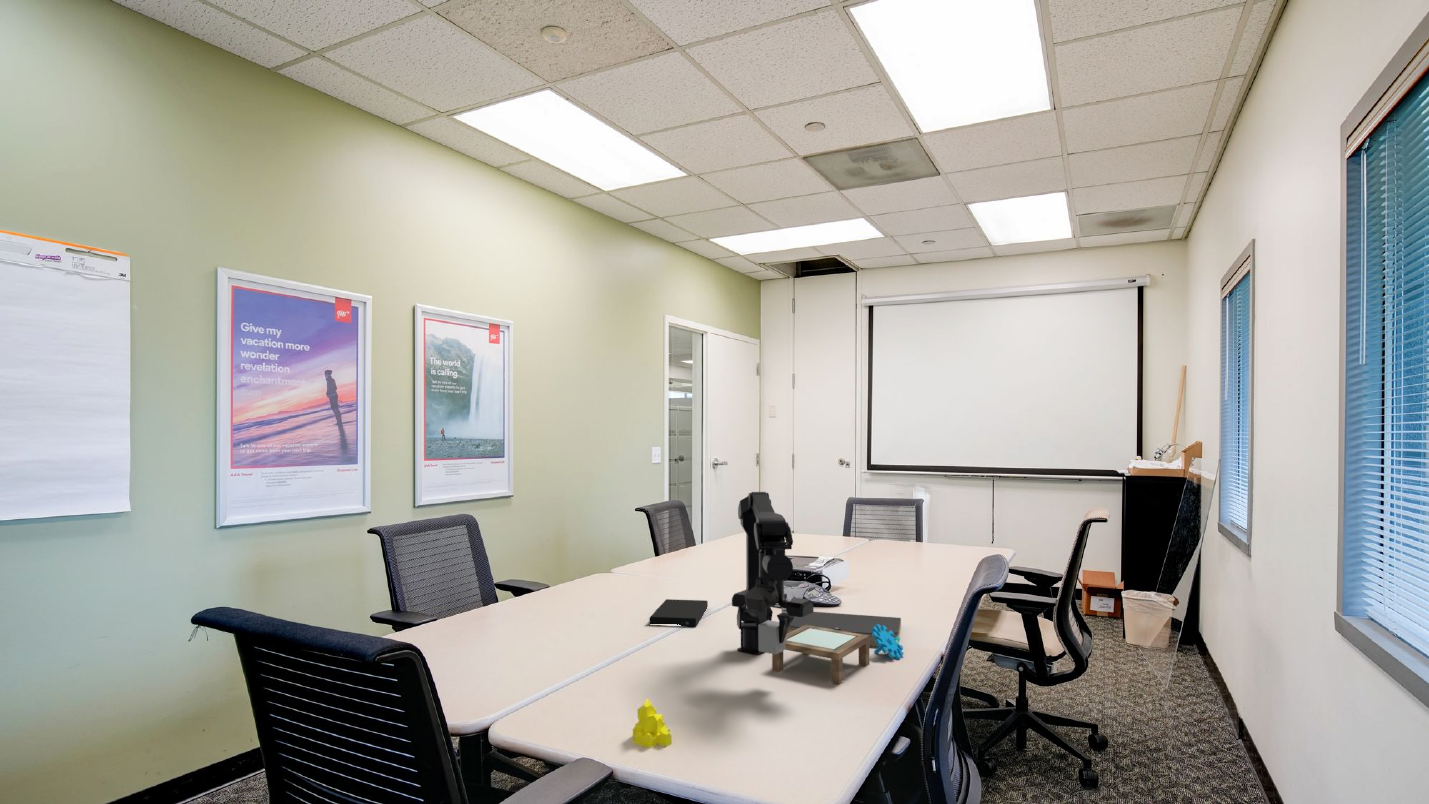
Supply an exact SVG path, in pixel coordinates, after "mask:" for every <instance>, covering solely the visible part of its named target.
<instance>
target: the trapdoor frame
mask: <svg viewBox="0 0 1429 804" xmlns="http://www.w3.org/2000/svg"><path fill="white" fill-rule="evenodd" d="M809 628H811V629H817V630H823V631H829V632H834V633H840V634H846V635H852V636H856V638H854V639H853V640H851V641H849V642H847V643H846V644H844V645H842V646H841V647H839V648H837V649H836V650H832V649H827V648H822V647H816V646H811V645H805V644H800V643H795V642H789V641H785V643H786V650H785V651H790V652H796V653H799V654H800V653H801V654H803V655H808V656H809V655H810V656H817V657H820V658H824V659H825V658H827V659H830V674H831V675H830V676H831V677H830V678H831V681H830V683H831V682H833V683H832V684H835V683H836V684H835V685H841V684H842V683H843V682H844V677H843V676H844V667H843V666H844V664H843V662H844V660H843V658H845V657H847V656H848V655H850V654H851V653H853V652H855V651H857V650H858V665H859V664H861V665H860V666H864V667H865V666H866V667H867V666H869V665H870V646H869V635H863V634H857V633H851V632H845V631H839V630H833V629H827V628H822V627H816V626H810V625H804V626H802V627H800V628H798V629H796V630H794V631H792V632H790V633H788V634H786V637H785V640H787V639H789V638H791V637H793V636H795V635H797V634H799V633H801V632H803V631H805V630H807V629H809ZM771 661H772V662H771V670H772V671H776V672H782V671H783V670H784V651H782V652H780V653H778V654H776V655H775V654H771ZM842 681H843V682H842ZM841 682H842V683H841ZM840 683H841V684H840Z"/></svg>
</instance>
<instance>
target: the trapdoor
mask: <svg viewBox="0 0 1429 804" xmlns="http://www.w3.org/2000/svg"><path fill="white" fill-rule="evenodd" d="M854 638H856V636H852V635H846V634H840V633H834V632H829V631H823V630H817V629H811V628H809V629H807V630H805V631H803V632H801V633H799V634H797V635H795V636H793V637H791V638H789V639H787V640H785V641H789V642H795V643H800V644H805V645H811V646H816V647H822V648H827V649H832V650H836V649H837V648H839V647H841V646H842V645H844V644H846V643H847V642H849V641H851V640H853V639H854Z"/></svg>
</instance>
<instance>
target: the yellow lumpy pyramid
mask: <svg viewBox="0 0 1429 804" xmlns="http://www.w3.org/2000/svg"><path fill="white" fill-rule="evenodd" d="M637 718H638V722H636V723H635V725H634V727H633V728H632V737H633V738H634V739H633V740H634V741H633V742H634V743H633V744H634V745H638V746H641V747H643V748H648V749H651V748H653V747H655V746H657V745H660V746H663V747H666V748H667V747H669V746H670V745H672V735H671V733H670V729H669V728H667V726H666V723H665V720H664V716H663V714H662V713H657V709H656V708H655V707H654V706H653V704H652V703H651V702H650V699H649V698H648V697H647V699H646V700H645V702H644V704H643V705H641V706H640V707H639V708H637Z"/></svg>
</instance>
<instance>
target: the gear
mask: <svg viewBox="0 0 1429 804" xmlns="http://www.w3.org/2000/svg"><path fill="white" fill-rule="evenodd" d="M881 629H882V630H881ZM886 629H887V628H886V627H885V626H884V625H883V626H882V627H881V626H880V625H879V624H877V625H875V627H873V628H872V631H873V632H874V633H873V634H872V636H873V637H874V638H876V639H877V640H876V641H875V642H876V644H877V645H878V646H879V645H880V646H879V647H876V648H875V649H874V651H873V652H874V654H875V655H878V653H880V652H881V651H882V653H883V654H886V653H888V652H889V654H888V656H889V658H891V659H894V658H895V660H900V659H901V657H903V655H905V653H904V652H903V650H904V646H903V645H901V644H900V641H901V636H897V637H896V638H894V637H892V635H893V634H894V633H893V632H892V631H891V630H890V631H889V632H888V633H887V632H886V631H885V630H886Z"/></svg>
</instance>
